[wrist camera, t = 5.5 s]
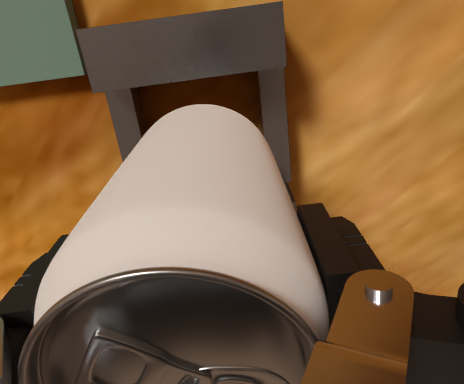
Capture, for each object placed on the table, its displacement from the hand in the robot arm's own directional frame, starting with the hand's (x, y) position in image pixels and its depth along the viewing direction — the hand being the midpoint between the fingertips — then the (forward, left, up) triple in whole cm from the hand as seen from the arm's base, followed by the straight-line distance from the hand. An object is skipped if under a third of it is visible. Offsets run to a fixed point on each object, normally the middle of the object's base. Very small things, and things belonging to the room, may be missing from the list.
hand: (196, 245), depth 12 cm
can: (0, 0, -7) cm, 7 cm away
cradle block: (0, 0, -15) cm, 15 cm away
